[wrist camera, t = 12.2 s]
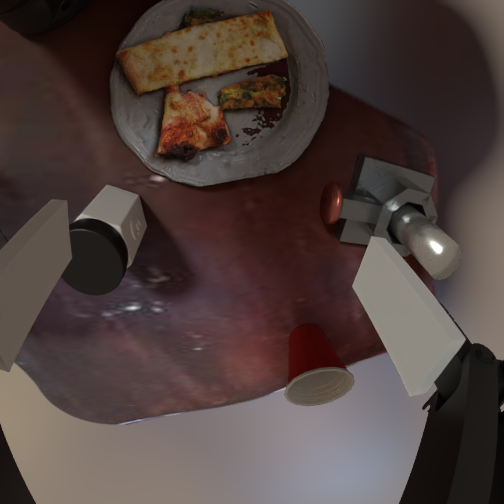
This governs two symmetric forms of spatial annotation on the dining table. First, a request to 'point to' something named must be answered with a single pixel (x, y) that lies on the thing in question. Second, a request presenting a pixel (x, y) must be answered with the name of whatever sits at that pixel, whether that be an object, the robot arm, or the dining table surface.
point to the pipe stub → (425, 241)
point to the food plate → (217, 88)
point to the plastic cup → (314, 369)
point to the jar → (104, 241)
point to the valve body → (376, 200)
